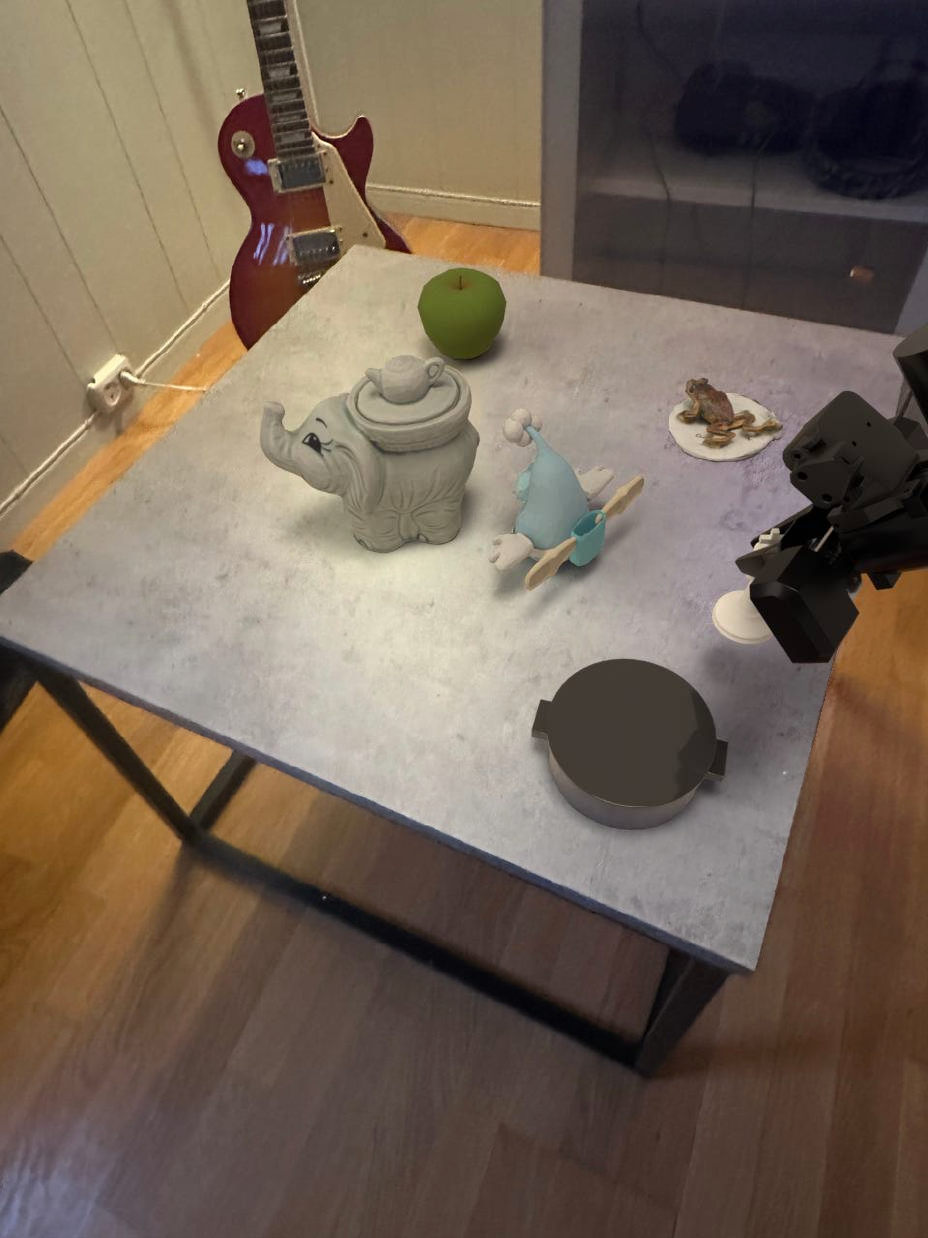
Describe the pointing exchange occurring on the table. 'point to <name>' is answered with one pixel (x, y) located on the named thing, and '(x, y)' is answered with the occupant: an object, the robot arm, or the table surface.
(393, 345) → the table surface
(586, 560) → the toy figure
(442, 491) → the teapot
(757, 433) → the frog figurine
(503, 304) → the apple
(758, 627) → the chess piece
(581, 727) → the pot
